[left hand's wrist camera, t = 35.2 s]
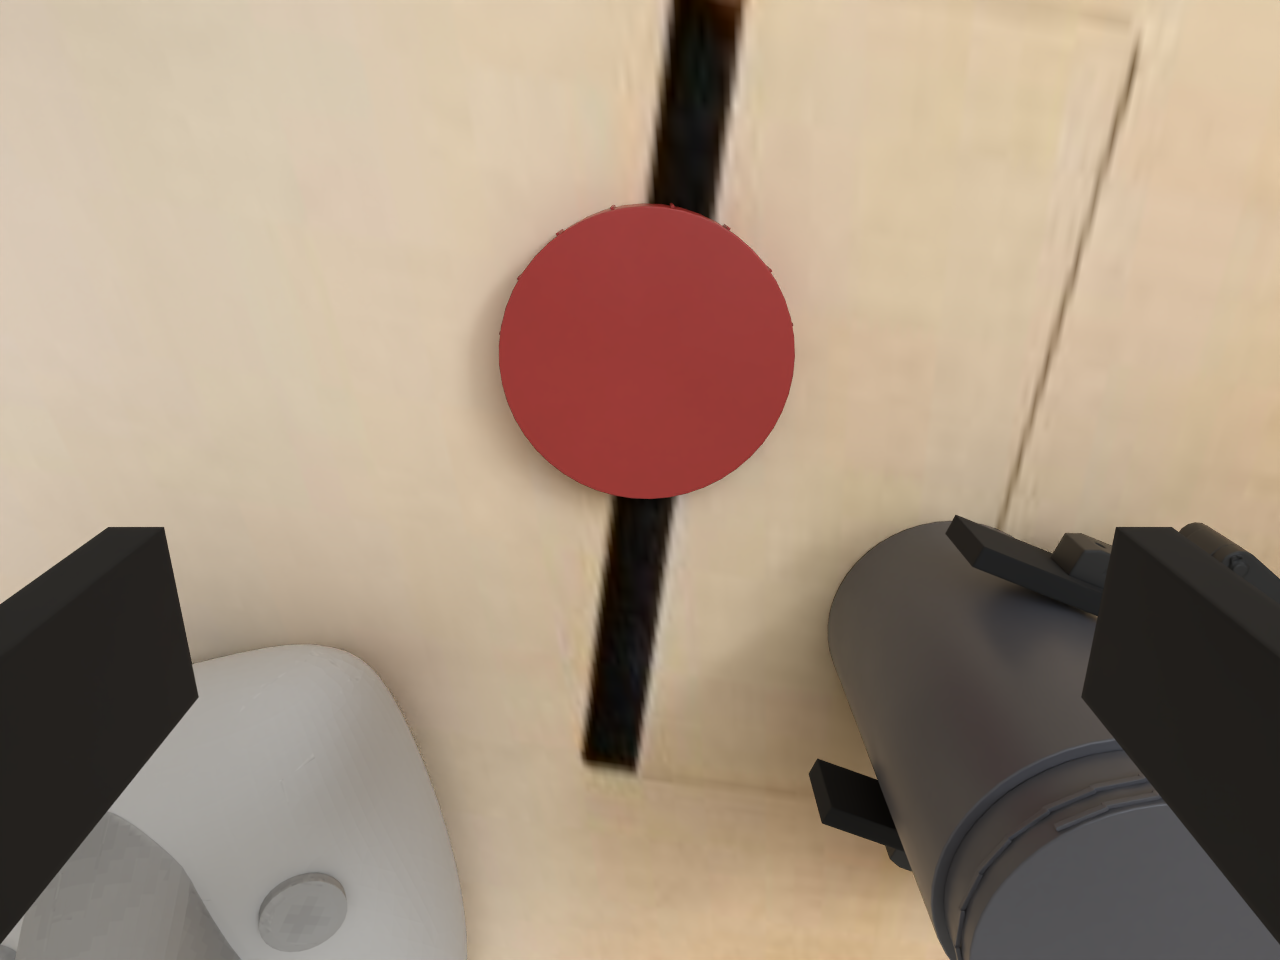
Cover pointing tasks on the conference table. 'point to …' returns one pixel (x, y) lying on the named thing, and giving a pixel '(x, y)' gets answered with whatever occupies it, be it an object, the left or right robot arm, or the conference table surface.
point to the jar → (1016, 772)
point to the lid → (646, 351)
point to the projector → (265, 831)
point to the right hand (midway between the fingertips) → (887, 671)
